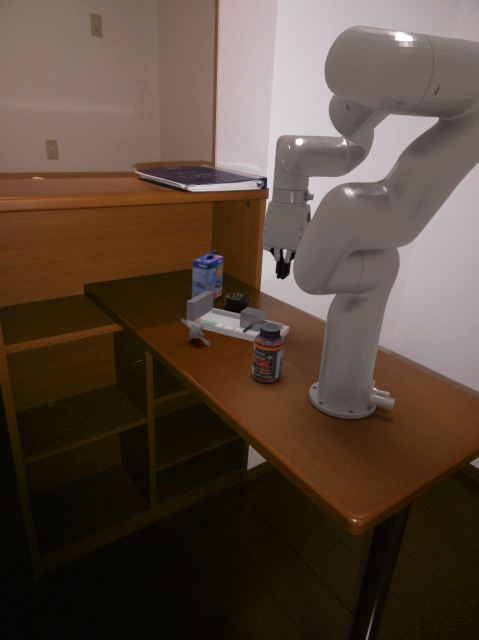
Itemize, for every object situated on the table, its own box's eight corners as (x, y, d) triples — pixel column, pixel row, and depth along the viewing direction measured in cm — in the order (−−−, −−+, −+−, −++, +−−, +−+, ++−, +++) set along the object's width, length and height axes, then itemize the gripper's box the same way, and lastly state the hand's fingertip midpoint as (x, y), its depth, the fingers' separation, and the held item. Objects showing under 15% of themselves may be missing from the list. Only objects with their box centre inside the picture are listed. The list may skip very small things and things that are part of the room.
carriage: (264, 325, 114) (265, 310, 113) (253, 335, 109) (254, 319, 107) (246, 321, 116) (247, 307, 115) (234, 330, 110) (235, 315, 109)
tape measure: (246, 314, 126) (247, 301, 124) (221, 311, 126) (222, 299, 125) (249, 305, 132) (250, 293, 130) (225, 303, 133) (226, 291, 131)
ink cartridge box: (207, 304, 131) (208, 255, 125) (190, 300, 133) (191, 252, 127) (223, 294, 139) (224, 248, 134) (207, 291, 141) (208, 245, 136)
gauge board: (288, 331, 115) (291, 308, 113) (273, 346, 107) (276, 321, 104) (206, 313, 125) (206, 290, 122) (186, 325, 116) (186, 301, 114)
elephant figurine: (217, 335, 112) (218, 338, 103) (202, 352, 112) (201, 355, 103) (190, 310, 111) (188, 310, 103) (174, 326, 111) (172, 328, 103)
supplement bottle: (247, 380, 92) (250, 329, 88) (257, 367, 97) (260, 318, 93) (275, 387, 90) (280, 335, 86) (284, 373, 95) (289, 323, 91)
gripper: (328, 198, 99) (317, 279, 106) (264, 191, 105) (259, 268, 112) (317, 203, 93) (307, 288, 100) (251, 194, 98) (246, 276, 106)
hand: (282, 277), depth 106 cm, fingers closed
